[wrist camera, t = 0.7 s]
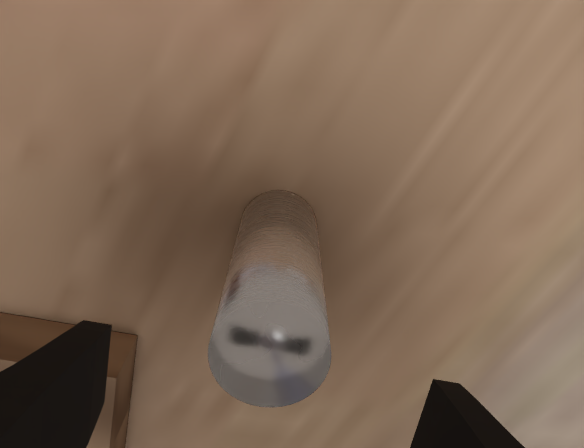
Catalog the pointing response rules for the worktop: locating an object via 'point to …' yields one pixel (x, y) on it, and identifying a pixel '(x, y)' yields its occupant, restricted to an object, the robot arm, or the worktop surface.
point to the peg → (272, 306)
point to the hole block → (114, 415)
